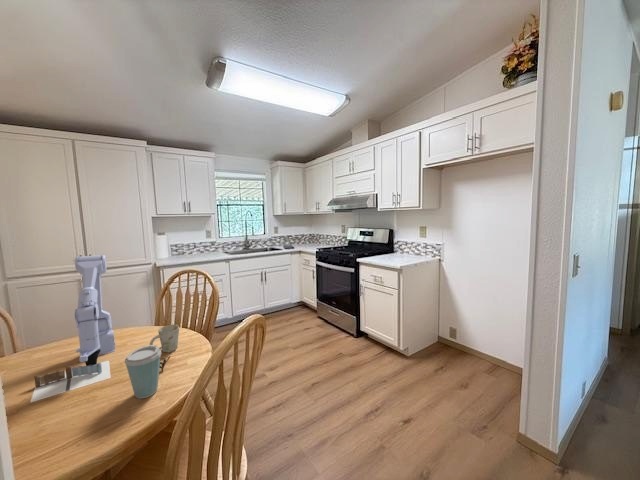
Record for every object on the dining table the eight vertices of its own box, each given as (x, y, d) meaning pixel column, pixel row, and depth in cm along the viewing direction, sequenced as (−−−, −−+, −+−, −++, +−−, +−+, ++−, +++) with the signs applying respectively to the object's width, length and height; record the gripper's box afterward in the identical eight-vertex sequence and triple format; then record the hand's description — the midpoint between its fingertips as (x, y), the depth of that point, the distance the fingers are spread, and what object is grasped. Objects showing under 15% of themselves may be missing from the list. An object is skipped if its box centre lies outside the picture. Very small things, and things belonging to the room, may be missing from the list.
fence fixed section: (72, 376, 103) (71, 365, 103) (72, 378, 102) (71, 367, 102) (35, 386, 97) (34, 375, 97) (35, 388, 96) (33, 377, 96)
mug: (184, 347, 126) (182, 327, 125) (155, 360, 115) (154, 337, 114) (174, 343, 130) (172, 323, 129) (145, 354, 120) (144, 332, 119)
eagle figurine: (173, 361, 112) (155, 354, 114) (168, 352, 108) (149, 346, 109) (160, 379, 107) (141, 372, 108) (154, 371, 102) (134, 364, 104)
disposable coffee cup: (137, 407, 87) (134, 362, 85) (120, 396, 92) (117, 354, 91) (169, 388, 96) (167, 348, 95) (152, 379, 101) (150, 341, 100)
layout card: (109, 361, 114) (108, 360, 114) (110, 378, 102) (110, 377, 102) (37, 380, 101) (37, 379, 101) (30, 403, 89) (30, 402, 89)
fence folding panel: (102, 371, 106) (101, 362, 106) (101, 372, 105) (100, 363, 104) (74, 375, 103) (73, 366, 103) (72, 377, 102) (71, 368, 102)
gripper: (82, 330, 109) (85, 362, 110) (67, 347, 96) (70, 383, 97) (104, 327, 112) (107, 359, 113) (92, 343, 98) (95, 378, 100)
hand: (92, 370), depth 105 cm, fingers closed, pressing on fence folding panel
